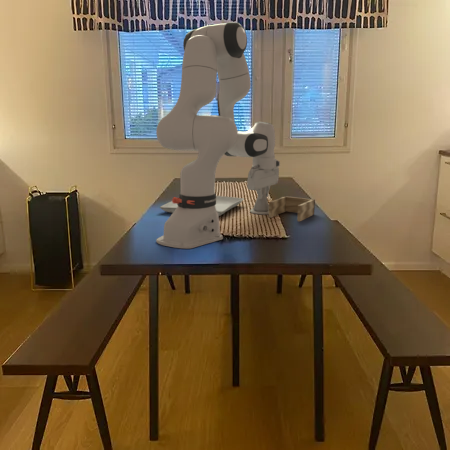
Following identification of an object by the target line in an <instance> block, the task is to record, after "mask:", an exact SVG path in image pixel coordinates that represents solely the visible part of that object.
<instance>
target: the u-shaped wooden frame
mask: <svg viewBox="0 0 450 450" xmlns="http://www.w3.org/2000/svg"><path fill="white" fill-rule="evenodd" d="M268 203H269V214H268V218H273V217H276V216H278V215H280V214H283V213H285V212H289V213H296V214H297V215H296V216H297V220H296V221H297V222H302V221H304V220H306V219H308V218H310V217H312V216H314V215H315V208H316V199H314V198H312V199H311V198H303V197H295V196H287V195H285V196H281V197H280V198H276V199H273V200H271V201H268Z"/></svg>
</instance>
